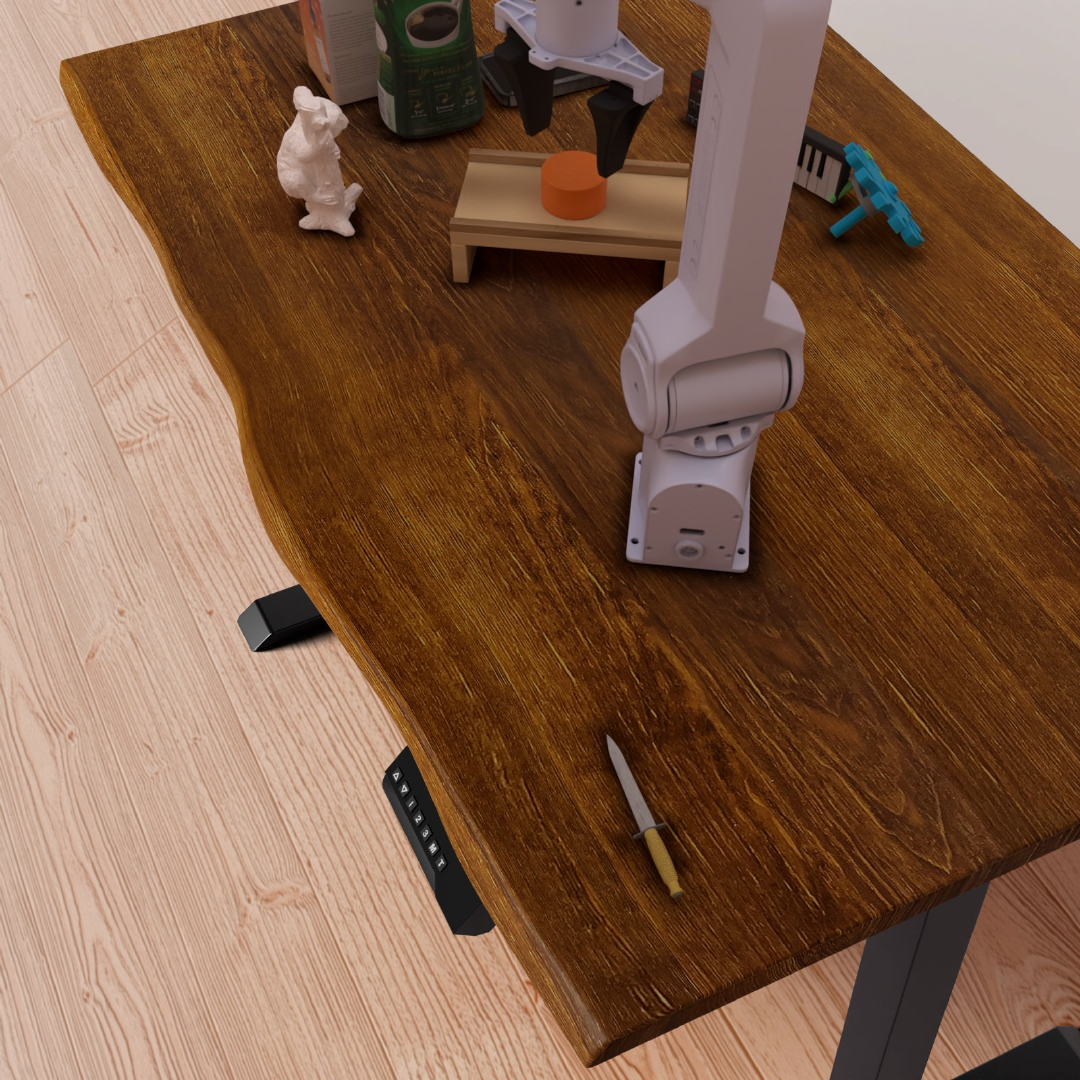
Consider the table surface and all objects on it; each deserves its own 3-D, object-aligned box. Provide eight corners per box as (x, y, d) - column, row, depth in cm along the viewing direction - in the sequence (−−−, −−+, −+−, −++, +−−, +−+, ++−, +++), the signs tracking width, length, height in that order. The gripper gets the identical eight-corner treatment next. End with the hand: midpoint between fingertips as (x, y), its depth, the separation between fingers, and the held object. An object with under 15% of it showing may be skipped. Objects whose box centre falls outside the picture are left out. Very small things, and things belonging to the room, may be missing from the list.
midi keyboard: (684, 122, 108) (689, 72, 104) (694, 117, 108) (699, 67, 104) (834, 208, 100) (846, 157, 96) (843, 201, 100) (855, 151, 96)
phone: (648, 63, 111) (503, 97, 108) (647, 74, 112) (503, 108, 109) (613, 24, 116) (472, 55, 112) (612, 34, 117) (473, 66, 113)
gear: (942, 259, 93) (874, 176, 88) (878, 303, 96) (809, 225, 91) (910, 190, 101) (845, 110, 96) (851, 233, 104) (786, 157, 98)
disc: (571, 172, 95) (571, 142, 92) (619, 199, 92) (621, 168, 90) (527, 201, 92) (527, 171, 90) (576, 229, 90) (577, 198, 88)
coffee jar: (468, 84, 112) (456, -121, 97) (494, 129, 107) (486, -80, 92) (370, 103, 110) (343, -103, 95) (392, 150, 105) (367, -60, 90)
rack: (676, 300, 92) (683, 241, 88) (453, 282, 94) (449, 223, 89) (682, 222, 99) (689, 163, 94) (473, 206, 100) (469, 147, 95)
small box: (308, 66, 114) (289, -42, 105) (362, 53, 115) (348, -55, 107) (334, 108, 109) (317, -1, 101) (390, 94, 110) (378, -15, 102)
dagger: (589, 737, 68) (621, 723, 68) (592, 744, 69) (623, 730, 69) (660, 901, 62) (694, 886, 62) (662, 906, 62) (696, 892, 63)
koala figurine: (378, 239, 97) (360, 109, 88) (299, 255, 96) (272, 126, 86) (356, 181, 102) (337, 53, 93) (280, 196, 101) (253, 67, 91)
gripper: (460, -43, 79) (469, 133, 90) (618, 34, 73) (609, 214, 84) (532, -78, 82) (533, 97, 93) (690, -6, 76) (672, 172, 87)
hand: (573, 150), depth 89 cm, fingers open, 7 cm apart
